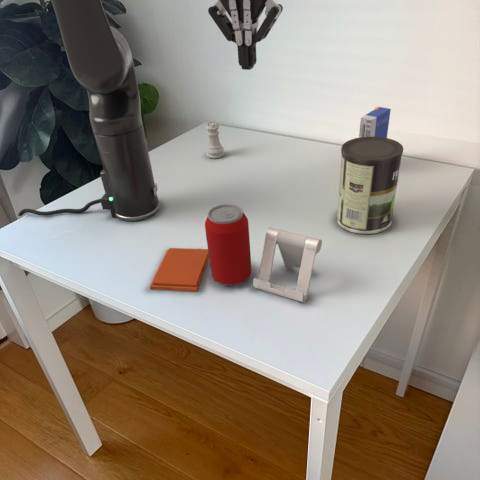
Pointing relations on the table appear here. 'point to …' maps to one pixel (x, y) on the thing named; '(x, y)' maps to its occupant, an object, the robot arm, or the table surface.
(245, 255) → the beverage can
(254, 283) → the tablet stand
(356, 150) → the coffee can
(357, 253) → the table surface
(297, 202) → the table surface
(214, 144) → the rook chess piece
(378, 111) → the walkman
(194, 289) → the folded cloth
